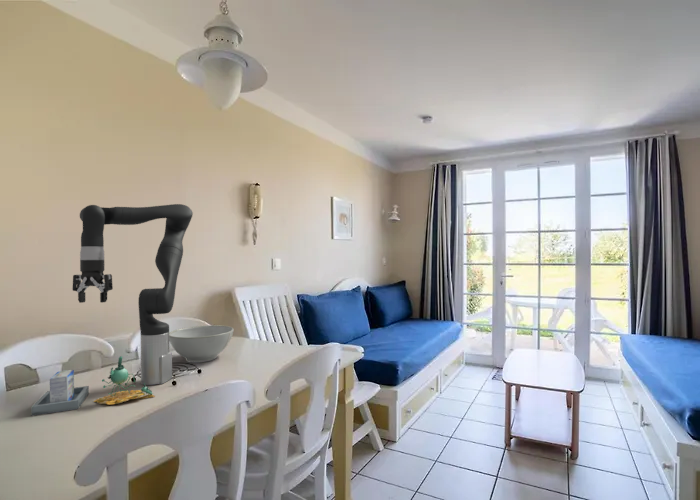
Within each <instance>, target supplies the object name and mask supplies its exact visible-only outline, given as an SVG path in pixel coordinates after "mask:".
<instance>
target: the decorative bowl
mask: <svg viewBox="0 0 700 500" xmlns="http://www.w3.org/2000/svg"><path fill="white" fill-rule="evenodd" d="M233 335H234V327H232V326H229V325H219V324H218V325H217V324H216V325H215V324H213V325H199V326H198V325H197V326H190V327H184V328H183V327H182V328H178V329H175V330H171V331H169V344H170V345H171V347H172V348H173V349H174V351H175V352H176V353H177V354H178V355H180V356H181V357H182V358H185V360H186V361H187V362H188V363H205V362H209V361H213V360H216V358H218V355H219V354H221V353H222V352H223V351H224V350H225V349H226V348H227V346H228V344H229V343H230V342H231V340H232V337H233Z"/></svg>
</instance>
